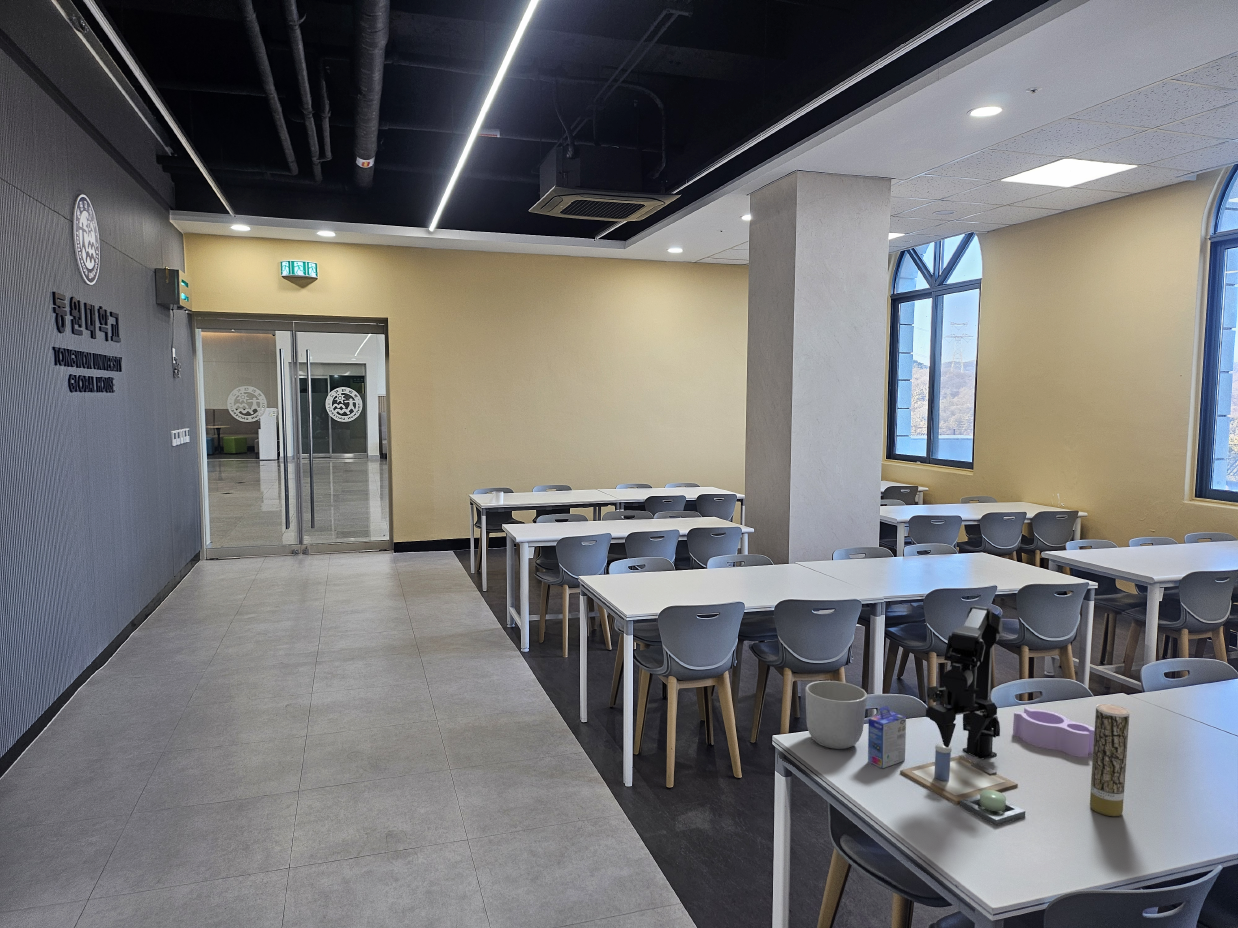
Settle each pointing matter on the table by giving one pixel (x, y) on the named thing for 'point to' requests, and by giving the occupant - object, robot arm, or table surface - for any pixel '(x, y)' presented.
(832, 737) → the planter
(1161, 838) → the table surface
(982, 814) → the button bezel
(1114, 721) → the paper tube
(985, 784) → the clipboard
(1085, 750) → the clip
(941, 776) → the blue cylinder
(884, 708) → the ink cartridge box
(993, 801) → the button
